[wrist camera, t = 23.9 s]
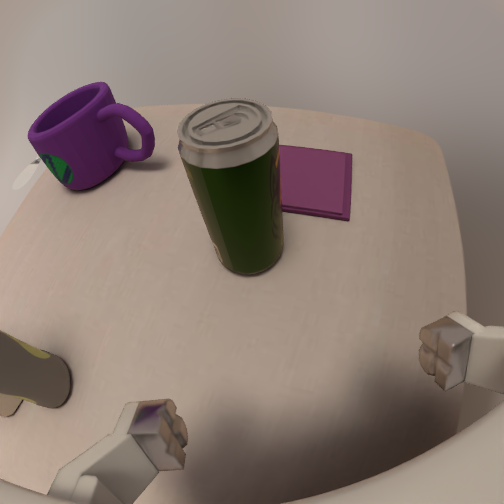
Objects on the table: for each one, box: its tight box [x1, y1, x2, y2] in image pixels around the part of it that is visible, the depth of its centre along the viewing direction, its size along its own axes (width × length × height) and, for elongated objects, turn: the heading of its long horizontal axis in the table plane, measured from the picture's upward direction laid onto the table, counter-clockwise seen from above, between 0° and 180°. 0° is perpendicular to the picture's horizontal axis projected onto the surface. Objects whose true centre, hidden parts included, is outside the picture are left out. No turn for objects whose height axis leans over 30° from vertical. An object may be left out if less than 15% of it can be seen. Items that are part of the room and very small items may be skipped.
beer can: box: [177, 98, 284, 275], centre depth 19 cm, size 5×5×12 cm
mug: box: [28, 82, 155, 190], centre depth 29 cm, size 17×11×10 cm, turn 72°
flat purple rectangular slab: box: [279, 145, 352, 221], centre depth 28 cm, size 14×9×1 cm, turn 75°
